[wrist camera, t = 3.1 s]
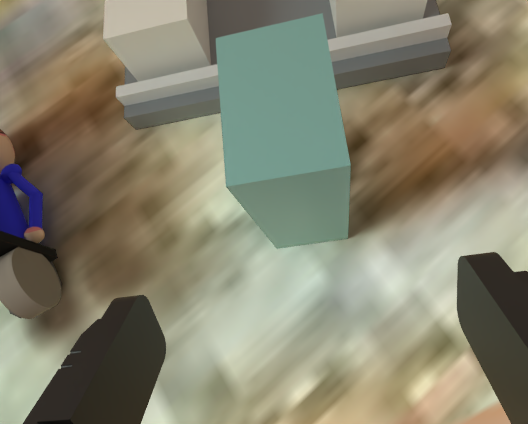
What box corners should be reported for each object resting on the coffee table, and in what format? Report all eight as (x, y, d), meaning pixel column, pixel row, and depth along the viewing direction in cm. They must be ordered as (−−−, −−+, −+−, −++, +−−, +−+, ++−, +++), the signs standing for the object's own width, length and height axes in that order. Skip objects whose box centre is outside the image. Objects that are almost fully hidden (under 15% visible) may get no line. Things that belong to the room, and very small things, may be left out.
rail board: (135, 129, 26) (115, 109, 24) (136, 4, 30) (119, -25, 27) (444, 67, 23) (455, 37, 21) (405, -65, 26) (411, -103, 24)
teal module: (276, 248, 22) (226, 186, 12) (266, 151, 24) (215, 35, 14) (347, 238, 21) (350, 165, 12) (330, 139, 23) (322, 10, 14)
